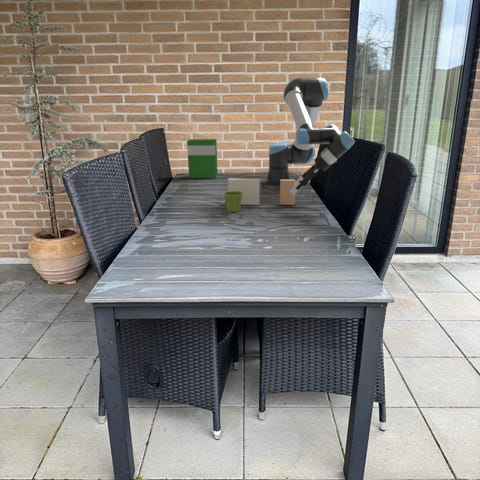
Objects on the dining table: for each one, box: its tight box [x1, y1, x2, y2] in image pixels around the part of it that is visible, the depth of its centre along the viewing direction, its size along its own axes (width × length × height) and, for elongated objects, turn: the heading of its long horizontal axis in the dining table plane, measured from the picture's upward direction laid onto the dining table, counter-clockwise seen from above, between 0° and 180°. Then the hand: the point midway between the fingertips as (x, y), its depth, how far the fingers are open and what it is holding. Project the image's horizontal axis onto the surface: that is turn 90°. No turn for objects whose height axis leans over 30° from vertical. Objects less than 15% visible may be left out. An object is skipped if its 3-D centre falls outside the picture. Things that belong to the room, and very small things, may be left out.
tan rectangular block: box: [279, 178, 296, 206], centre depth 220 cm, size 3×7×12 cm, turn 80°
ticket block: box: [227, 177, 262, 206], centre depth 224 cm, size 3×16×12 cm, turn 80°
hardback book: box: [186, 138, 219, 179], centre depth 288 cm, size 18×7×24 cm, turn 86°
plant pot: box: [222, 191, 243, 213], centre depth 212 cm, size 9×9×9 cm
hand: (292, 190), depth 219 cm, fingers open, 13 cm apart
